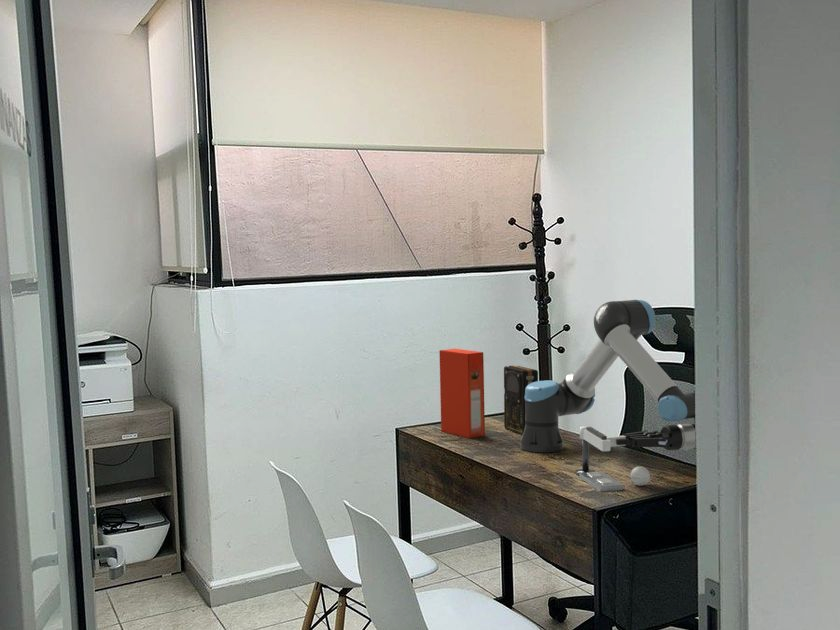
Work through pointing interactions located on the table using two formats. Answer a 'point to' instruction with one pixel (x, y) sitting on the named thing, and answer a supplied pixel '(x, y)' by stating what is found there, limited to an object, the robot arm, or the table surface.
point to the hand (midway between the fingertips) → (604, 441)
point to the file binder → (462, 392)
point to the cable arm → (595, 438)
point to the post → (585, 459)
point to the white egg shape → (640, 476)
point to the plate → (600, 481)
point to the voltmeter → (516, 396)
